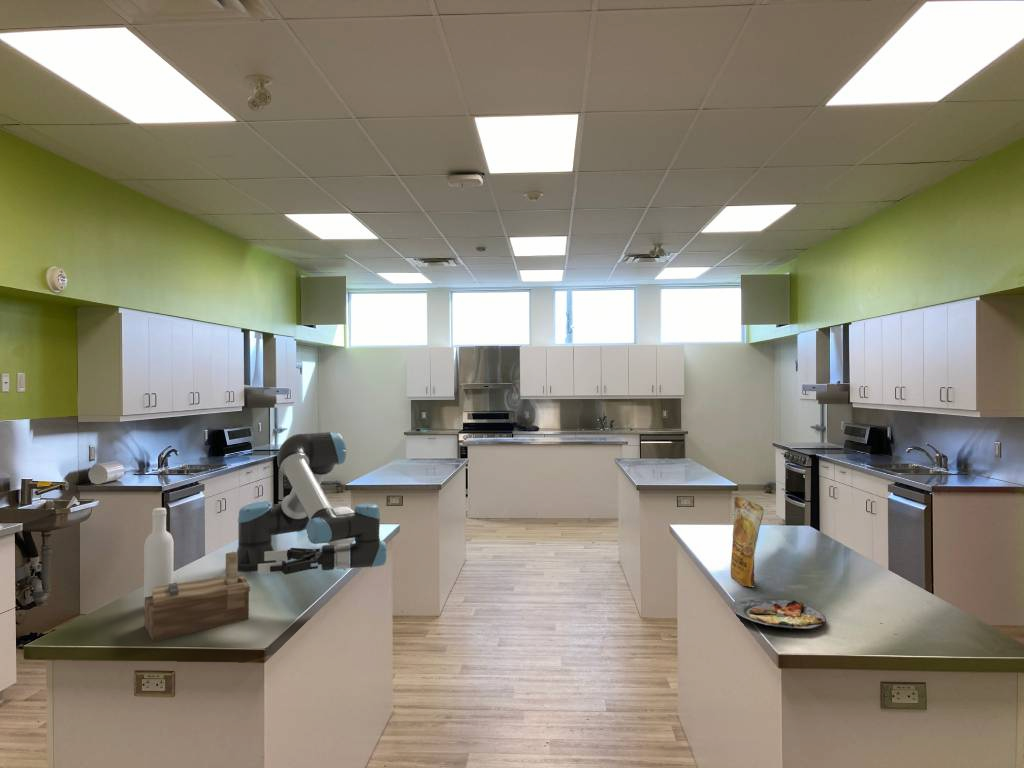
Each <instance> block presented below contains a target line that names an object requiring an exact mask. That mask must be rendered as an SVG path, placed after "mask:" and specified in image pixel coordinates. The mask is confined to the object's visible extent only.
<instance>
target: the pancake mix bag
mask: <svg viewBox="0 0 1024 768" xmlns="http://www.w3.org/2000/svg"><path fill="white" fill-rule="evenodd" d="M763 517H764V508H763V507H762V505H760V504H758V503H755V502H752V501H751V500H748V499H746V498H743V497H739V496H734V497H733V523H732V525H733V527H732V529H733V530H732V547H731V558H730V577H731V578H734V579H735V580H734V579H733V580H734V581H735V582H737V581H738V582H739V583H740V584H739V583H738V582H737V583H738V584H739V585H740V586H742V585H743V586H742V587H744V586H749V587H752V586H754V584H755V553H756V548H757V542H758V538H759V534H760V533H759V532H760V528H761V524H762V521H763ZM749 587H748V588H749Z"/></svg>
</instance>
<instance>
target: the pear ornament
mask: <svg viewBox="0 0 1024 768" xmlns="http://www.w3.org/2000/svg"><path fill="white" fill-rule="evenodd" d="M333 510H334V512H335V514H336V515H341V514H348V513H354V511H355V510H353V509H352V508H350V507H346V506H337V507H335V508H333ZM348 543H350V544H351V543H355V537H354V538H349V539H342V540H337V541H332V542H328V543H327V545H334V547H335V546H337V544H348Z"/></svg>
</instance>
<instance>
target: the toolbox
mask: <svg viewBox="0 0 1024 768" xmlns="http://www.w3.org/2000/svg"><path fill="white" fill-rule="evenodd" d="M249 599H250V591H249V592H243V593H237V594H231V595H225V596H219V597H213V598H207V599H201V600H196V601H190V602H184V603H178V604H172V605H166V606H160V607H153V596H149V597H145V609H144V618H143V619H144V622H143V623H144V628H145V629H146V631H147V633H148V635H149V637H150V639H151V640H152V642H158V641H159V642H160V641H162V640H166V639H171V638H175V637H180V636H183V635H187V634H191V633H196V632H201V631H204V630H208V629H212V628H217V627H221V626H225V625H230V624H234V623H239V622H242V621H246V620H249V618H250V617H249V616H250V614H249V613H250V608H249V606H250V601H249Z"/></svg>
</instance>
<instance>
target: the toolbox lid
mask: <svg viewBox="0 0 1024 768" xmlns="http://www.w3.org/2000/svg"><path fill="white" fill-rule="evenodd" d="M250 589H251V586H250V584H249V582H248V580H247V579H246V577H245V576H244V574H243V573H238V583H236V584H230V585H226V575H225V576H219V577H218V576H217V577H212V578H204V579H200V580H194V581H193V580H192V581H185V582H180V583H178V582H173V583H171V584H169V585H166V586H159V587H153V588H152V596H153V607H160V606H166V605H172V604H178V603H184V602H190V601H196V600H201V599H207V598H213V597H219V596H225V595H231V594H237V593H243V592H249V593H250V592H251V590H250Z"/></svg>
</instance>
